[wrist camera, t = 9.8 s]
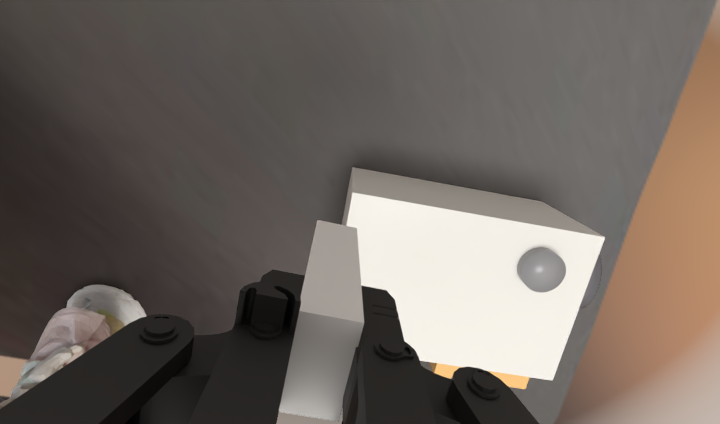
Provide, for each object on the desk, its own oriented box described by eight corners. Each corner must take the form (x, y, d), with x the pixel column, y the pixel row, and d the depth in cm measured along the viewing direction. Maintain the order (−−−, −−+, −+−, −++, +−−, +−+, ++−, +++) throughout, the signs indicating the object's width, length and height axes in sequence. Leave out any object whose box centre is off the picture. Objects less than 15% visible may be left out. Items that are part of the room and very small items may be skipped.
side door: (420, 330, 41) (433, 376, 34) (425, 309, 41) (440, 352, 34) (497, 342, 42) (525, 389, 35) (503, 322, 41) (533, 366, 34)
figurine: (175, 380, 42) (23, 519, 29) (101, 365, 45) (-68, 484, 32) (157, 284, 39) (-22, 389, 26) (79, 274, 42) (-119, 364, 29)
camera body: (329, 288, 41) (322, 357, 30) (352, 167, 37) (352, 195, 27) (530, 320, 42) (590, 396, 32) (568, 206, 39) (649, 248, 28)
